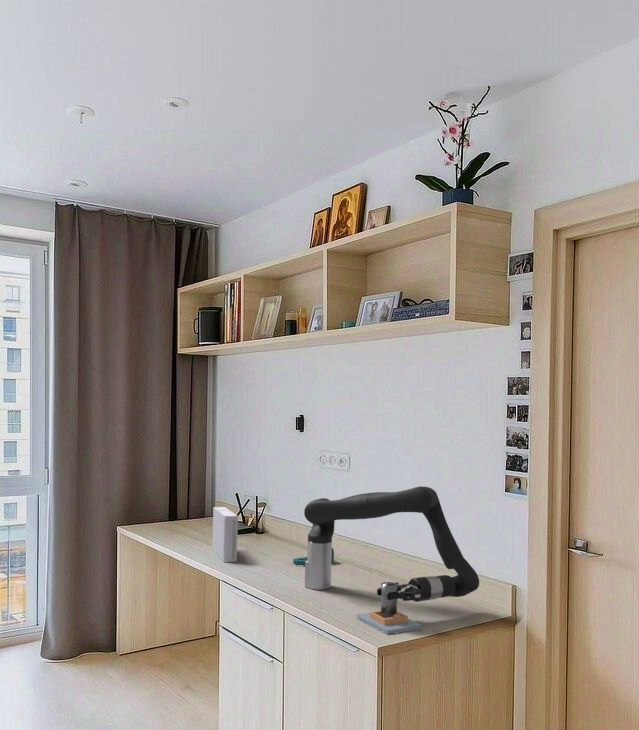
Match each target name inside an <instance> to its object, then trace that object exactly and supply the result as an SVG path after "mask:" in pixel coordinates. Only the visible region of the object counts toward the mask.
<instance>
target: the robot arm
mask: <svg viewBox="0 0 639 730" xmlns="http://www.w3.org/2000/svg"><path fill="white" fill-rule="evenodd" d="M303 513H304V515H303V516H304V518H305V519H306V520H307V521H308V522H309V523H311V524H312V526H311V529H310V531H309V532H308V535H307V557H308V558H307V561H306V562H305V566H304V588H305V587H306V588H308V589H311V590H318V591H319V590H322V591H323V590H327V589H331V588H332V563H331V559H332V548H333V547H332V546H333V544H332V543H333V535H334V533H335V524H336V523H335V521H338V520H339V521H342V520H367V519H369V520H371V519H377V518H378V519H379V518H382V517H383V518H384V517H386V516H390V515H393V514H397V513H419V514H423V516H424V517H425V519H426V520H427V522H428V524H429V527H430V529H431V532H432V535H433V538H434V543H435V547H436V549H437V552H438V554H439V556H440V558H441V561H442V562H443V564H444V565H445V567H446V569H448V570H454V571H455V573H456V575H455V576H450V575H447V574H443V575H427V576H420V577H413V578H411V579H410V580H409V582H408V583H400V582H395V583H397V591H395V592H388V593H387V600H393V599H397V600H399V601H400V600H402V601H403V602H409V601H413V602H416V603H417V602H418V603H419V602H424V601H433V600H436V599H440V598H446V597H454V598H458V597H464V596H467V595H469V594H471V593H473V592H475V591H477V590H478V588H479V587H480V578H479V575H478V574H477V571H476V570H475V569H474V567H472V565H471V564H470V563H469V562H468V560H466V558H465V557H464V556H463V554H462V551H461V549H460V547H459V546H458V544H457V541H456V540H455V537H454V535H453V534H452V531H451V529H450V527H449V524H448V522H447V520H446V517H445V514H444V511H443V508H442V505H441V501H440V498H439V496H438V494H437V492H436V490H434V489H433V488H432V487H428V486H415V487H412V488H409V489H404V490H400V491H391V492H387V491H377V492H367V493H359V494H356V495H351V496H347V497H344V498H340V499H336V500H334V499H332V500H330V499H329V498H324V497H322V498H318V499H314V500H310V502H308V504H307V505H306V506H305V508H304V511H303ZM376 595H378V596H381V587H378V588H376Z"/></svg>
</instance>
